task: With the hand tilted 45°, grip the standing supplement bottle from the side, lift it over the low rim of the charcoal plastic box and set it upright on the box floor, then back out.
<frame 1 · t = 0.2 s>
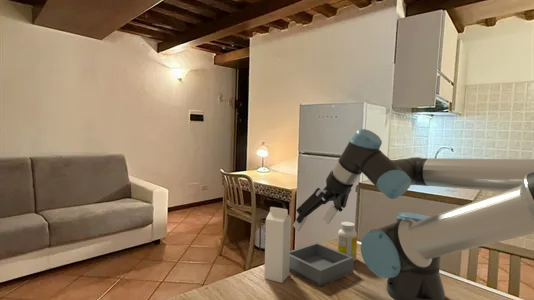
hand: (311, 224, 106), 15 cm above the table, tool tilted 35°, fingers open, 13 cm apart
supplement bottle: (346, 259, 117), on the table
milk: (277, 277, 102), on the table
open box: (318, 269, 107), on the table
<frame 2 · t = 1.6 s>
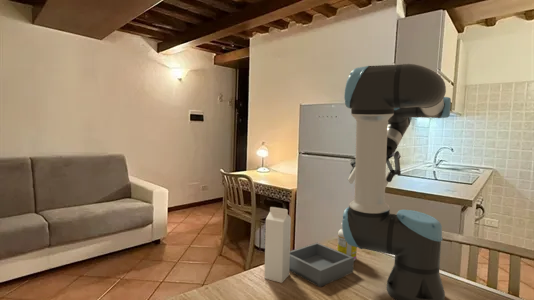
hand: (365, 184, 121), 26 cm above the table, tool tilted 45°, fingers open, 13 cm apart
nothing on the table moved.
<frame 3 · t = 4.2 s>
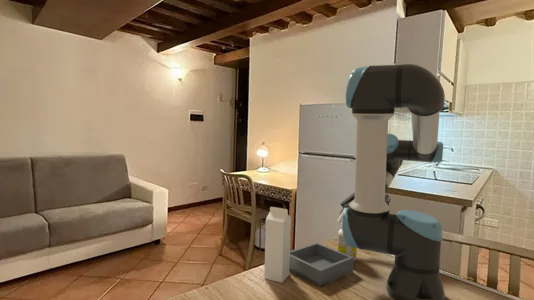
hand: (353, 228, 119), 10 cm above the table, tool tilted 45°, fingers open, 13 cm apart
nothing on the table moved.
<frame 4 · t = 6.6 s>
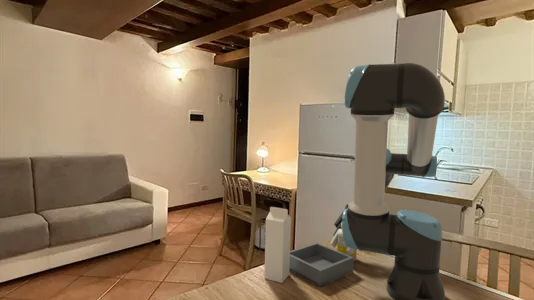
hand: (340, 248, 114), 4 cm above the table, tool tilted 45°, fingers closed on supplement bottle, 7 cm apart
supplement bottle: (346, 259, 117), on the table, touching gripper
everything else where it was.
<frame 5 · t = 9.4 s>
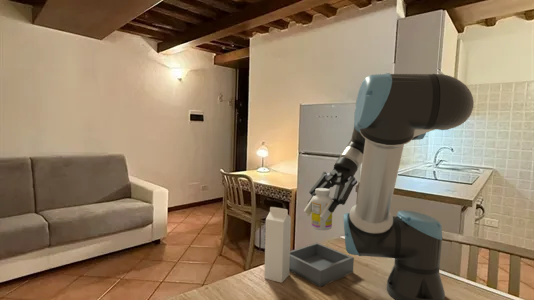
hand: (314, 216, 105), 18 cm above the table, tool tilted 45°, fingers closed on supplement bottle, 7 cm apart
supplement bottle: (321, 228, 107), point 14 cm above the table, touching gripper
everything else where it was.
when the fingers open (7 cm above the table, at t = 12.5 s): supplement bottle drops 2 cm, resting on open box.
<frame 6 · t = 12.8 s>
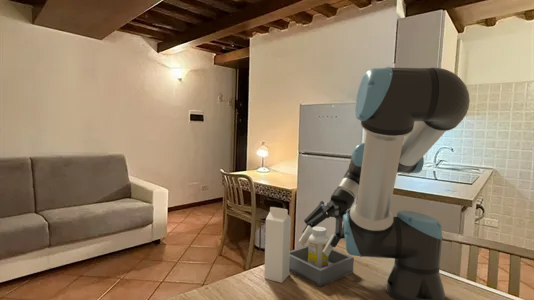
hand: (312, 248, 105), 8 cm above the table, tool tilted 45°, fingers open, 10 cm apart
supplement bottle: (317, 267, 108), point 1 cm above the table, touching open box
everything else where it was.
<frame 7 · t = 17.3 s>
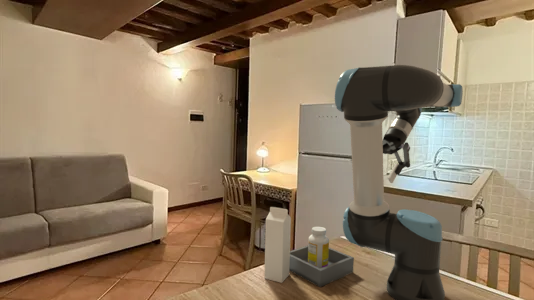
hand: (372, 177, 114), 30 cm above the table, tool tilted 45°, fingers open, 13 cm apart
nothing on the table moved.
at the end: supplement bottle inside the target area on the open box (0.3 cm from its centre), point 0.8 cm above the open box's base; supplement bottle tilted 0°; the gripper is holding nothing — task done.
